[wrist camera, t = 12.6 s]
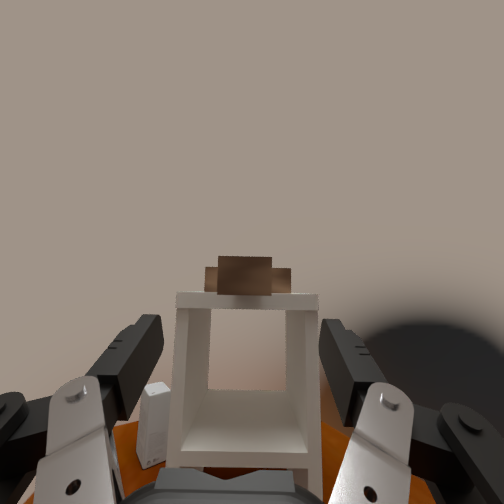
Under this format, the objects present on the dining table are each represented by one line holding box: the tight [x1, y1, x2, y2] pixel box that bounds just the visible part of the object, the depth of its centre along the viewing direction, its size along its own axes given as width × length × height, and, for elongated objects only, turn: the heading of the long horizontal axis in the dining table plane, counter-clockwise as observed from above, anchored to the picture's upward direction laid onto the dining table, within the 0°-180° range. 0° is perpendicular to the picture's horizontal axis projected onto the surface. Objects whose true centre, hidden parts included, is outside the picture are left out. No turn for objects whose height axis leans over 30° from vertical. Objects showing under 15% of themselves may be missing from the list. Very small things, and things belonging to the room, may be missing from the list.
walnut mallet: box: [204, 256, 291, 296], centre depth 29 cm, size 12×28×4 cm, turn 0°
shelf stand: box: [166, 291, 323, 502], centre depth 36 cm, size 18×18×31 cm
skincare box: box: [136, 382, 171, 469], centre depth 45 cm, size 6×4×12 cm
